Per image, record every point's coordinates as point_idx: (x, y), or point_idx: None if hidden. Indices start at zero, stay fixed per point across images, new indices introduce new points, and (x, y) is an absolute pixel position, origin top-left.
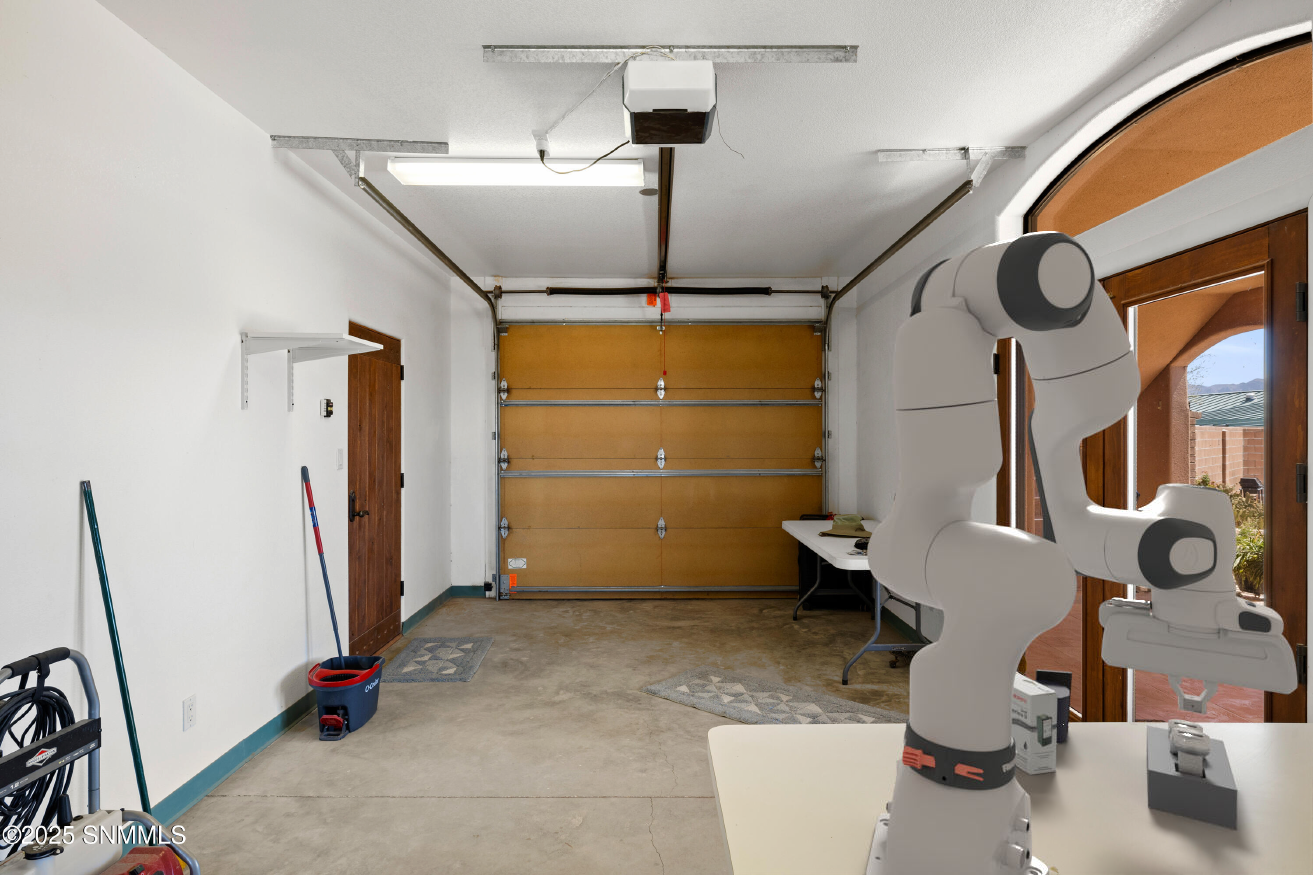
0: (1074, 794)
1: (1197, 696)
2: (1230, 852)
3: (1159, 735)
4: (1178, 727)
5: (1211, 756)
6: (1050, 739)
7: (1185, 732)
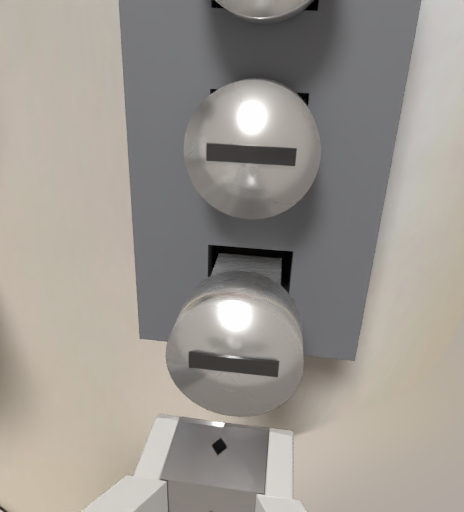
0: (29, 301)
1: (244, 493)
2: (305, 394)
3: None
4: (225, 2)
5: (342, 104)
6: None
7: (215, 365)
